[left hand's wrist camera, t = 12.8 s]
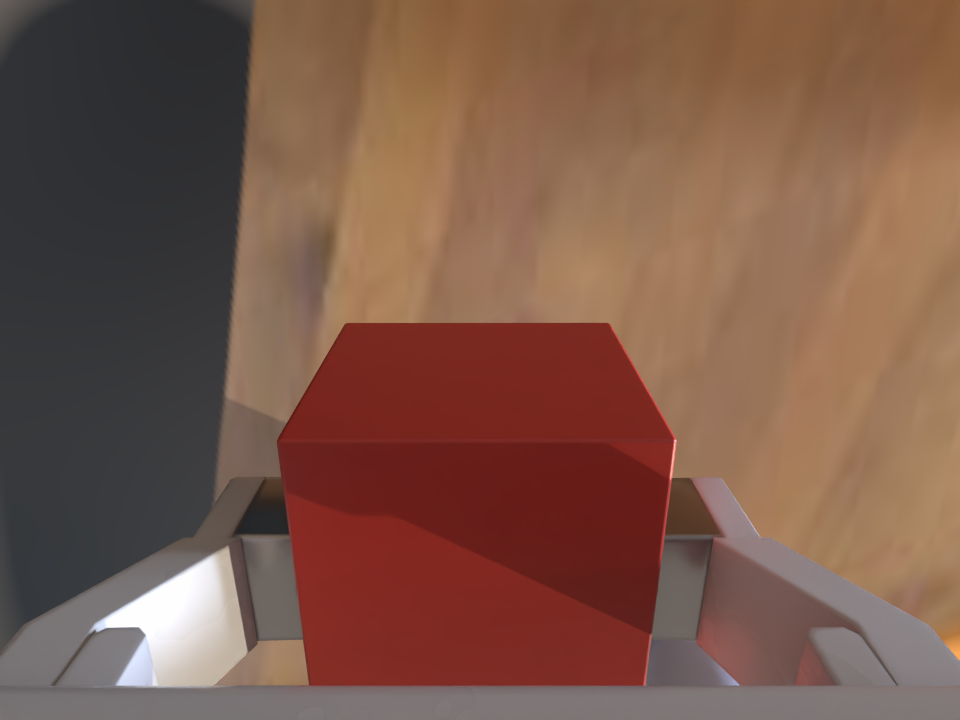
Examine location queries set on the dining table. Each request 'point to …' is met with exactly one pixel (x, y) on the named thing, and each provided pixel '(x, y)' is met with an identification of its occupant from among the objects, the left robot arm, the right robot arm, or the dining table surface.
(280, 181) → the dining table surface
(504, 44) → the dining table surface
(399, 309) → the dining table surface
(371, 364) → the brick
